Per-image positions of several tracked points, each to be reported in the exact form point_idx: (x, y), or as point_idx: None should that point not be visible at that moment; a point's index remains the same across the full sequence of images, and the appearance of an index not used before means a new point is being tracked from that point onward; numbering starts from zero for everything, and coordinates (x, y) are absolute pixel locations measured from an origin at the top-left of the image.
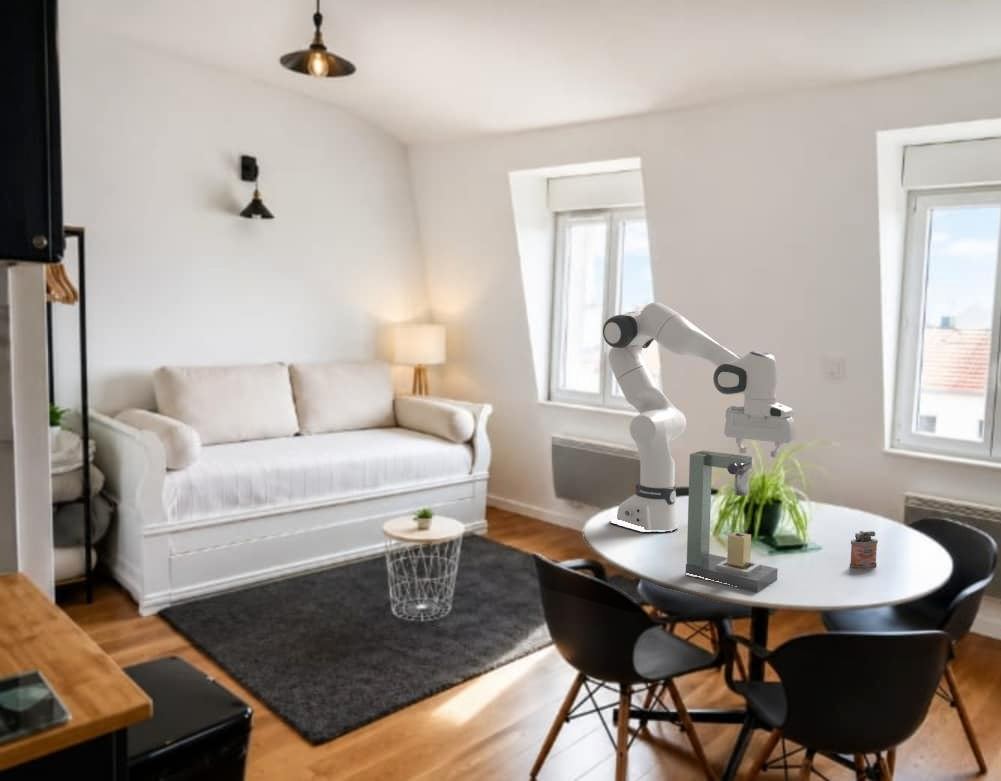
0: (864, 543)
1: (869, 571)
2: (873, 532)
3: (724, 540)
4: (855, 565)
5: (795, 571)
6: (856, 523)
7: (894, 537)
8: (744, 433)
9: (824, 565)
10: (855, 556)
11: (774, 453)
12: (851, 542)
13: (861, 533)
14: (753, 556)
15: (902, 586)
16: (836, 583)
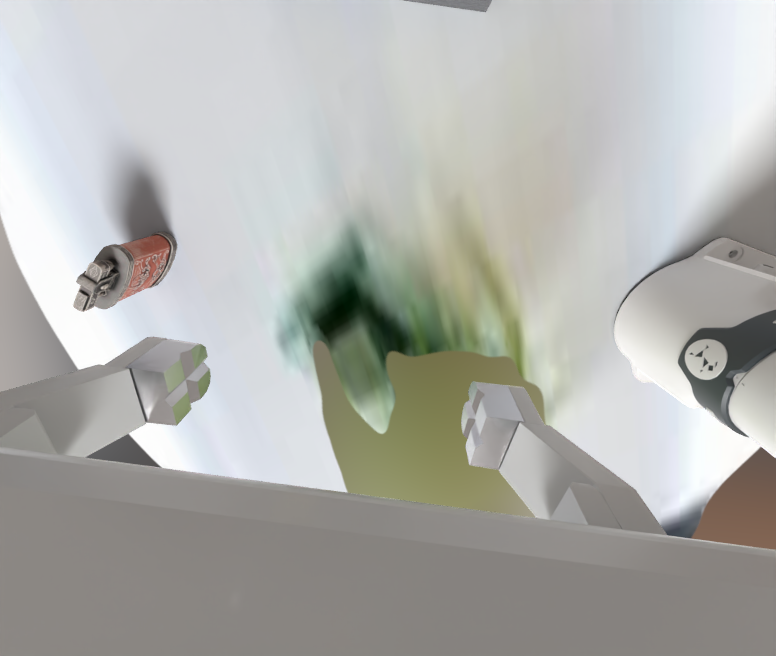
0: (97, 259)
1: (129, 230)
2: (76, 302)
3: (483, 293)
4: (154, 234)
5: (249, 114)
6: None
7: (208, 464)
8: (568, 646)
9: (219, 218)
10: (139, 239)
11: (132, 355)
12: (125, 251)
13: (89, 276)
14: (384, 192)
15: (20, 150)
16: (125, 65)
